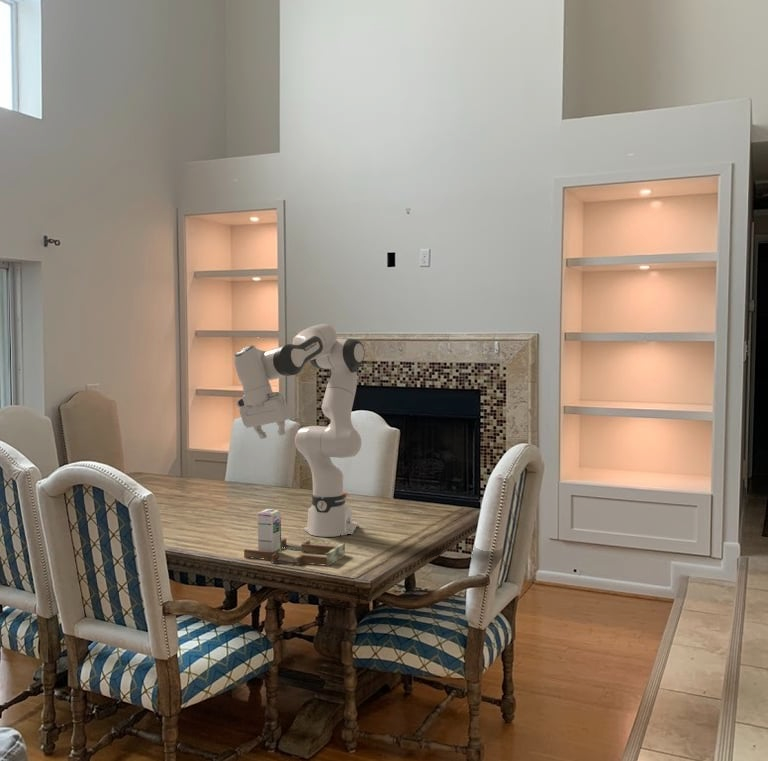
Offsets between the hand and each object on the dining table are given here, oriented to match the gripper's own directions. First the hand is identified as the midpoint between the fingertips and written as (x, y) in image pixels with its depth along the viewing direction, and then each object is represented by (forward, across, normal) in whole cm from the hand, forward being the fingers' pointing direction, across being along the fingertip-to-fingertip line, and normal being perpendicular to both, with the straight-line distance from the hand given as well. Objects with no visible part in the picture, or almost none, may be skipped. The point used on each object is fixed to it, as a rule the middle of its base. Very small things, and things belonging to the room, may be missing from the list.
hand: (272, 436), depth 262 cm
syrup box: (+38, +12, +7) cm, 40 cm away
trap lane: (+40, +4, +3) cm, 40 cm away
